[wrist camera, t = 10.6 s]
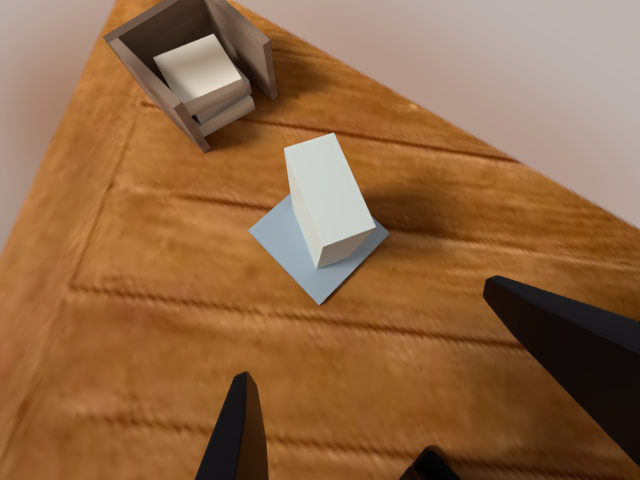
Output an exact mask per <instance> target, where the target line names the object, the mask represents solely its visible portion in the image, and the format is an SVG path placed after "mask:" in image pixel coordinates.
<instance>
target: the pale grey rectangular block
mask: <svg viewBox="0 0 640 480" xmlns="http://www.w3.org/2000/svg"><path fill="white" fill-rule="evenodd" d="M284 151H285V158H286V165H287V171H288V178H289V185H290V192H291V199H292V206H293V210H294V212H295V215H296V218H297V220H298V223H299V225H300V228H301V231H302V233H303V236H304V238H305V241H306V244H307V246H308V249H309V251H310V254H311V257H312V259H313V262H314V264H315V267H316V269H319V268H321V267H324V266H327V265H329V264H332V263H334V262H337V261H340V260H342V259H345V258H348V257H349V256H350V255H351V254H352V253H353V252H354V250H355V249H356V248H357V247H358V246H359V245H360V244H361V243H362V242H363V241H364V240H365V239H366V237H367V236H368V235H369V234H370V233H371V232H372V231H373V230H374V229H375V228H376V226H375V224H374V221H373V219H372V217H371V215H370V212H369V210H368V208H367V206H366V204H365V201H364V199H363V197H362V195H361V192H360V190H359V188H358V186H357V183H356V181H355V179H354V177H353V174H352V172H351V170H350V168H349V166H348V163H347V161H346V159H345V157H344V154H343V152H342V150H341V148H340V145H339V143H338V141H337V139H336V136H335V134H334V133H331V134H328V135H325V136H322V137H318V138H315V139H312V140H309V141H306V142H302V143H299V144H296V145H293V146H290V147H286V148H284Z"/></svg>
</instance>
